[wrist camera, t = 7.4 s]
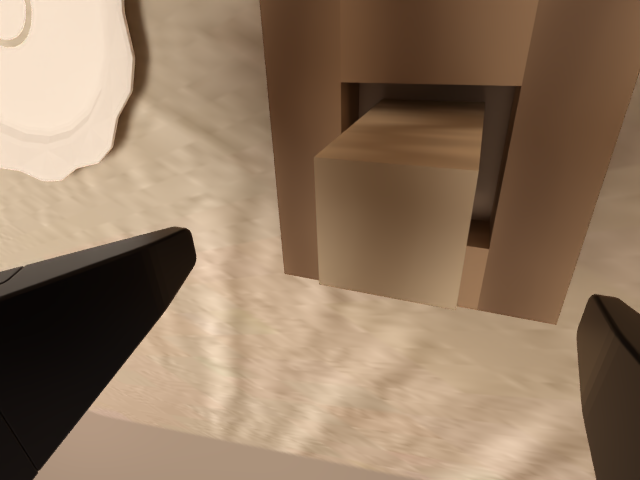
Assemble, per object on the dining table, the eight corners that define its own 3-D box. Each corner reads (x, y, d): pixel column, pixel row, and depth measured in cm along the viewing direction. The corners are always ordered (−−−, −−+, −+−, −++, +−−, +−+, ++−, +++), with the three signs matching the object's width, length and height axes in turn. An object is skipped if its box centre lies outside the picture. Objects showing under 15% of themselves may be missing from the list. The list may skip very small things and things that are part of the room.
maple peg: (485, 102, 16) (479, 170, 9) (469, 197, 18) (455, 310, 11) (382, 98, 17) (313, 157, 10) (379, 188, 19) (319, 284, 12)
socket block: (640, -28, 13) (674, -36, 10) (548, 283, 19) (556, 324, 16) (292, -8, 17) (258, -11, 14) (307, 244, 23) (284, 273, 20)
